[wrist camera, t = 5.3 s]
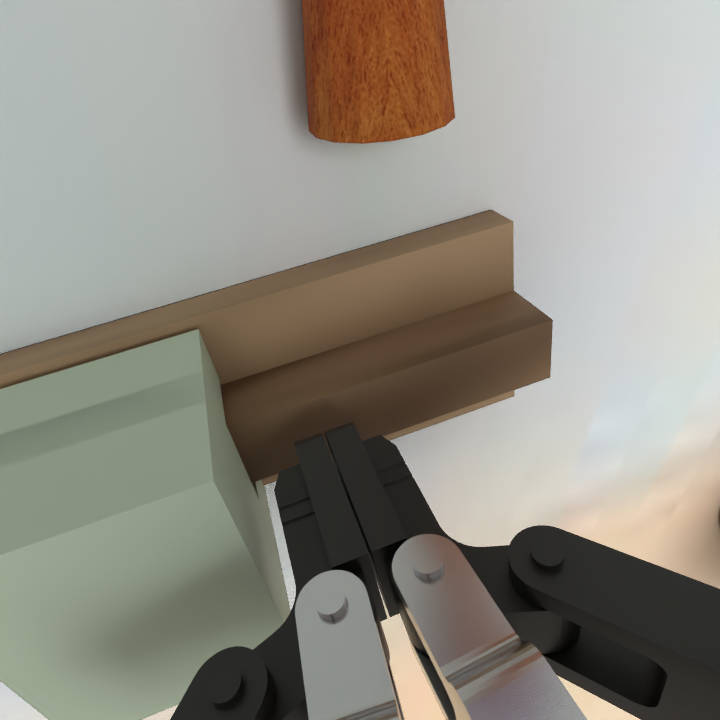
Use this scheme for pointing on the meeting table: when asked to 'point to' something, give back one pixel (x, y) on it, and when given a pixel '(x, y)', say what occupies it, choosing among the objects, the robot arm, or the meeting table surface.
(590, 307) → the meeting table surface
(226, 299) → the rail
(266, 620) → the keeper
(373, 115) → the kendama
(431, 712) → the meeting table surface
